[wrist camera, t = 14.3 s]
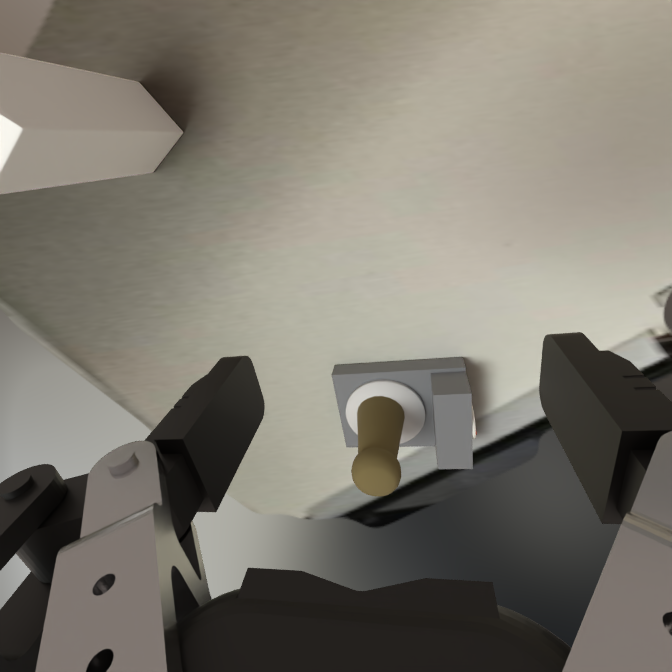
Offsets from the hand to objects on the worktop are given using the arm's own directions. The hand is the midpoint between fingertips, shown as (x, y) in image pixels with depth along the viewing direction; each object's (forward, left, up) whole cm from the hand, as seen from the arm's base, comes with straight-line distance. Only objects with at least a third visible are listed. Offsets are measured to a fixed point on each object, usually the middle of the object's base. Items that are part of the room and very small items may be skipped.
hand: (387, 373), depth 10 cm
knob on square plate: (+2, +25, -32) cm, 41 cm away
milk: (+25, -11, -32) cm, 42 cm away
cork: (+5, +25, -29) cm, 39 cm away
